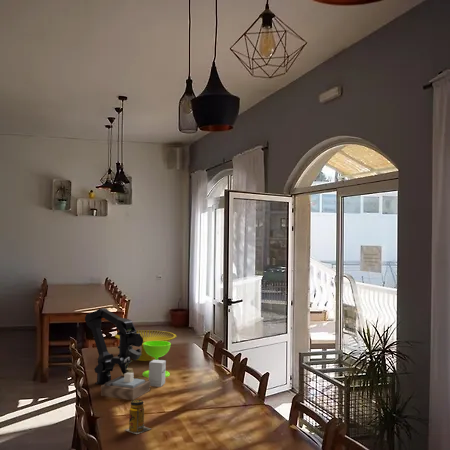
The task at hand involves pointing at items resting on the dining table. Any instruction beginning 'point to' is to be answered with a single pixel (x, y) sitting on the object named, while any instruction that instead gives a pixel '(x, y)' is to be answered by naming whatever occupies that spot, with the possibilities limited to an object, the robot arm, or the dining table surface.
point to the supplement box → (157, 372)
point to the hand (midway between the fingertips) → (124, 374)
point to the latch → (129, 370)
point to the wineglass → (156, 352)
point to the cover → (128, 381)
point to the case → (124, 390)
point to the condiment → (136, 417)
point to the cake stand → (144, 355)
